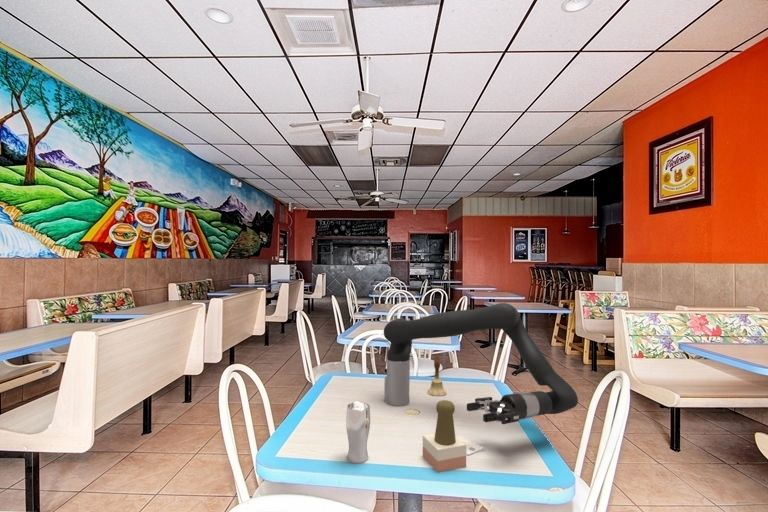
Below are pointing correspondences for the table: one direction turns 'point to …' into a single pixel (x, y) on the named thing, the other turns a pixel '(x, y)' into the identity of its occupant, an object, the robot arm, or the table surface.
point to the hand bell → (436, 381)
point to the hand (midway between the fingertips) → (475, 412)
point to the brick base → (444, 463)
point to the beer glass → (358, 431)
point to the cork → (445, 423)
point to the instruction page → (470, 446)
